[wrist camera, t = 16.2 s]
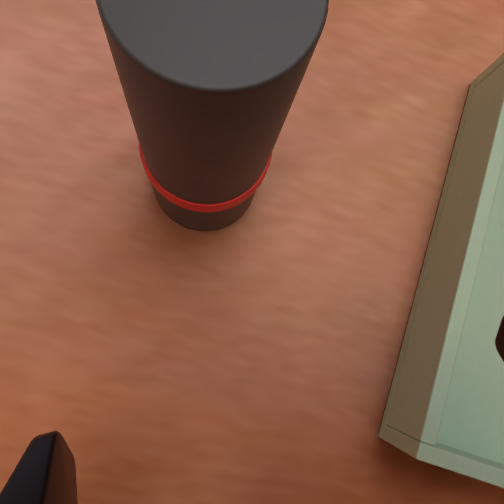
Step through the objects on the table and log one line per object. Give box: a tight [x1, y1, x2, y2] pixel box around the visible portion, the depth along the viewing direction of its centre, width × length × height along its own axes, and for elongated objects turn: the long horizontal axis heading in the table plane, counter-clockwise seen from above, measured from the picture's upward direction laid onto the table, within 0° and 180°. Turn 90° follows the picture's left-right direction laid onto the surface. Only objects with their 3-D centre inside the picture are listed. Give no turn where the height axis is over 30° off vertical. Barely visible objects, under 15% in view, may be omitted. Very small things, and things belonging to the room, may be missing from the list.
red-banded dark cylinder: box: [96, 0, 329, 231], centre depth 15 cm, size 5×5×12 cm
